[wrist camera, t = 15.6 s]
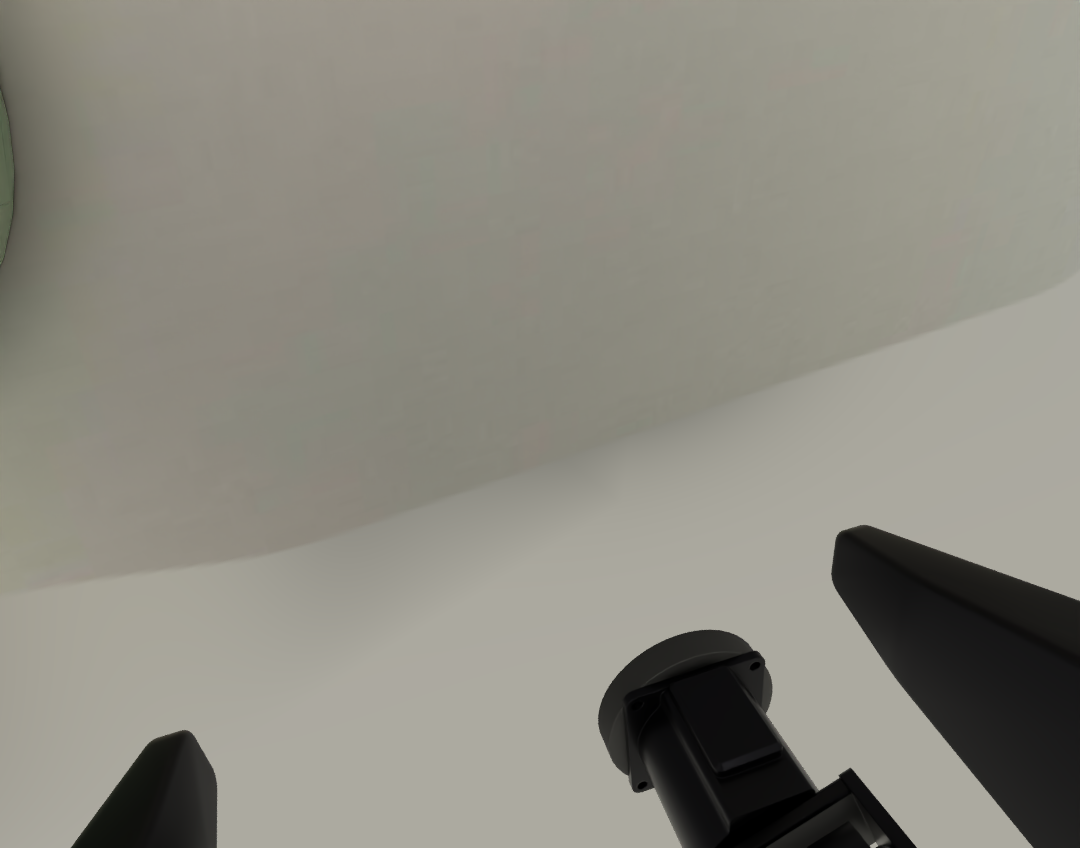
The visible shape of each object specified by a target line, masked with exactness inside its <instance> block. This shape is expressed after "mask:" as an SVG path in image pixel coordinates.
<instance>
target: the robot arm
mask: <svg viewBox="0 0 1080 848" xmlns="http://www.w3.org/2000/svg"><path fill="white" fill-rule="evenodd" d="M831 575H832V581H833V584H834V586H835V589H836V590H837V592H838V593H839V595H840V596H841V598H842V599H843V601H844V603H845V604H846V606H847V607H848V608H849V610H850V611H851V613H852V614H853V616H854V617H855V619H856V620H857V622H858V623H859V625H860V626H861V628H862V629H863V631H864V632H865V634H866V635H867V637H868V638H869V640H870V641H871V643H872V644H873V646H874V647H875V649H876V650H877V652H878V653H879V655H880V656H881V658H882V659H883V661H884V662H885V664H886V665H887V667H888V668H889V670H890V671H891V672H892V674H893V675H894V677H895V678H896V679H897V681H898V682H899V683H900V684H901V686H902V687H903V688H904V690H905V691H906V692H907V693H908V694H909V696H910V697H911V698H912V700H913V701H914V702H915V703H916V704H917V705H918V707H919V708H920V709H921V711H922V712H923V713H924V714H925V715H926V717H927V718H928V719H929V720H930V722H931V723H932V724H933V725H934V727H935V728H936V729H937V730H938V731H939V732H940V734H941V735H942V736H943V738H944V739H945V740H946V741H947V742H948V743H949V745H950V746H951V747H952V749H953V750H954V751H955V752H956V753H957V755H958V756H959V757H960V758H961V759H962V761H963V762H964V763H965V764H966V766H967V767H968V768H969V769H970V771H971V772H972V773H973V774H974V776H975V777H976V778H977V779H978V780H979V782H980V783H981V784H982V785H983V787H984V788H985V789H986V790H987V791H988V793H989V794H990V795H991V796H992V798H993V799H994V800H995V801H996V802H997V804H998V805H999V806H1000V807H1001V808H1002V810H1003V811H1004V812H1005V814H1006V815H1007V816H1008V817H1009V818H1010V820H1011V821H1012V822H1013V823H1014V825H1015V826H1016V827H1017V828H1018V829H1019V831H1020V832H1021V833H1022V834H1023V836H1024V837H1025V838H1026V839H1027V840H1028V842H1029V843H1030V844H1031V845H1032V846H1033V848H1080V601H1078V600H1075V599H1073V598H1070V597H1067V596H1064V595H1062V594H1059V593H1056V592H1053V591H1050V590H1048V589H1045V588H1042V587H1039V586H1036V585H1034V584H1031V583H1028V582H1025V581H1022V580H1020V579H1017V578H1014V577H1011V576H1009V575H1006V574H1003V573H1000V572H997V571H995V570H992V569H989V568H986V567H983V566H981V565H978V564H975V563H972V562H969V561H966V560H964V559H961V558H958V557H955V556H953V555H950V554H947V553H944V552H941V551H938V550H936V549H933V548H930V547H927V546H925V545H922V544H919V543H916V542H913V541H911V540H908V539H905V538H902V537H900V536H896V535H894V534H891V533H888V532H886V531H883V530H880V529H877V528H874V527H871V526H868V525H860V526H857V527H854V528H850V529H847V530H843V531H841V532H840V533H839V534H838V535H837V537H836V541H835V549H834V556H833V564H832V573H831ZM764 674H765V660H764V658H763V657H762V656H761V654H760V653H759V652H758V651H750V652H747V653H744V654H741V655H738V656H735V657H732V658H729V659H726V660H723V661H720V662H717V663H714V664H711V665H708V666H705V667H702V668H699V669H696V670H693V671H690V672H687V673H684V674H681V675H678V676H675V677H672V678H669V679H666V680H663V681H660V682H657V683H654V684H650V685H647V686H644V687H641V688H638V689H635V690H633V691H630V692H629V693H627V694H626V695H625V696H624V698H623V701H622V703H623V715H624V727H625V740H626V752H627V764H628V776H629V782H630V785H631V787H632V789H633V791H634V792H636V793H640V792H644V791H646V790H649V789H652V788H655V790H656V792H657V794H658V796H659V798H660V800H661V803H662V805H663V807H664V809H665V811H666V813H667V816H668V818H669V820H670V822H671V824H672V826H673V828H674V831H675V832H676V835H677V837H678V839H679V841H680V844H681V845H682V848H870V845H871V844H873V843H874V842H876V843H877V844H878V847H876V848H917V847H916V846H915V845H914V844H913V843H912V841H911V840H910V839H909V838H908V837H907V835H906V834H905V833H904V832H903V830H902V829H901V828H900V827H899V825H898V824H897V823H896V822H895V821H894V820H893V818H892V817H891V816H890V815H889V813H888V812H887V811H886V810H885V809H884V807H883V806H882V805H881V804H880V802H879V801H878V800H877V799H876V798H875V796H874V795H873V794H872V793H871V792H870V790H869V789H868V788H867V787H866V786H865V784H864V783H863V782H862V781H861V779H860V778H859V777H858V776H857V775H856V773H855V772H854V771H853V770H852V769H851V768H849V769H848V770H846V771H845V772H843V773H841V774H840V775H839V777H840V778H839V779H837V780H836V781H834V782H833V783H831V784H829V785H828V786H826V787H825V788H823V789H821V790H820V791H819V790H818V789H817V787H816V786H815V784H814V783H813V782H812V780H811V779H810V777H809V776H808V774H807V773H806V771H805V770H804V768H803V767H802V766H801V764H800V763H799V761H798V760H797V759H796V757H795V756H794V754H793V753H792V751H791V750H790V748H789V747H788V745H787V744H786V743H785V741H784V740H783V738H782V737H781V735H780V734H779V732H778V731H777V730H776V728H775V727H774V725H773V724H772V722H771V721H770V720H769V718H768V717H767V715H766V714H765V712H764V711H763V709H762V702H763V688H764ZM71 848H217V782H216V777H215V773H214V770H213V768H212V766H211V764H210V763H209V761H208V759H207V758H206V756H205V754H204V752H203V751H202V749H201V747H200V745H199V744H198V742H197V740H196V738H195V737H194V736H193V734H192V733H191V732H189V731H187V730H182V731H179V732H175V733H172V734H169V735H165V736H162V737H159V738H156V739H154V740H153V741H151V742H150V743H149V744H148V745H147V746H146V747H145V748H144V750H143V751H142V753H141V754H140V755H139V756H138V758H137V759H136V760H135V762H134V763H133V765H132V766H131V767H130V769H129V770H128V771H127V773H126V774H125V775H124V777H123V778H122V780H121V781H120V782H119V784H118V785H117V786H116V787H115V789H114V790H113V791H112V793H111V794H110V796H109V797H108V798H107V800H106V801H105V802H104V804H103V805H102V806H101V808H100V809H99V810H98V812H97V813H96V814H95V816H94V817H93V819H92V820H91V821H90V823H89V824H88V826H87V827H86V828H85V829H84V831H83V832H82V833H81V835H80V836H79V837H78V839H77V840H76V842H75V843H74V844H73V846H72V847H71Z"/></svg>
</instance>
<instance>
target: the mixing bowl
mask: <svg viewBox="0 0 1080 848" xmlns="http://www.w3.org/2000/svg"><path fill="white" fill-rule="evenodd" d="M13 192H14V163H13V154H12V145H11V136H10V127H9V120H8V116H7V112H6V108H5V105H4V101H3V97H2V93H1V89H0V265H1V263H2V260H3V258H4V254H5V249H6V245H7V240H8V235H9V230H10V225H11V221H12V216H13Z"/></svg>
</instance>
